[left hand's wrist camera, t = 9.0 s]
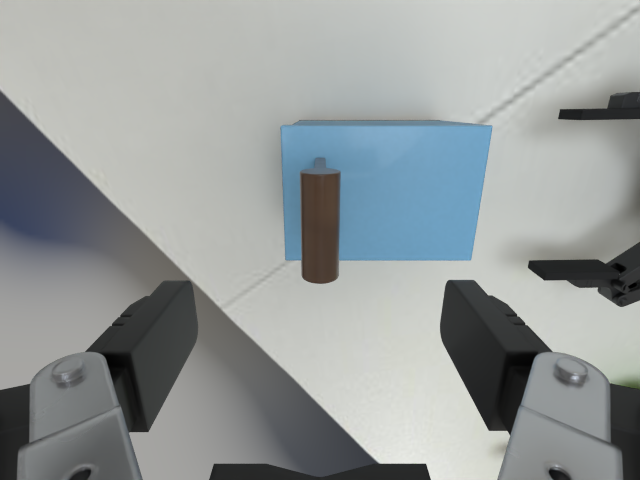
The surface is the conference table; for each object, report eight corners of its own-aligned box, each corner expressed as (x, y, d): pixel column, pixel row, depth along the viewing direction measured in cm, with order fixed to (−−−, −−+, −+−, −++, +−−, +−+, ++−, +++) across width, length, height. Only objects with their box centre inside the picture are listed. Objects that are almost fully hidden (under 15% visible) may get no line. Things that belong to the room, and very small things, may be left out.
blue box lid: (286, 255, 28) (272, 314, 20) (282, 125, 25) (263, 132, 16) (465, 255, 28) (525, 315, 20) (485, 124, 24) (567, 132, 16)
